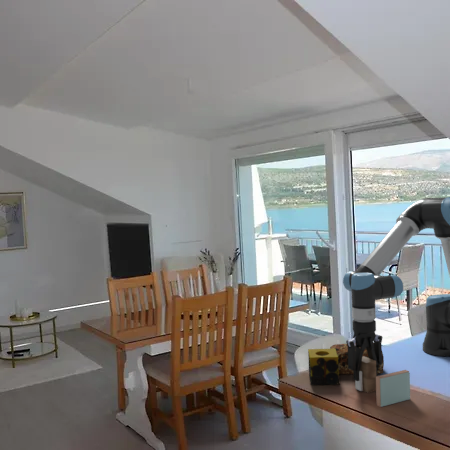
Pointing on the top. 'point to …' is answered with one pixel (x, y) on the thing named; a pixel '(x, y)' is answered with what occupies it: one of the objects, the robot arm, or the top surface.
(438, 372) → the top surface
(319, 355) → the yellow spotted cube
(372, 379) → the light brown rectangular block
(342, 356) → the bread
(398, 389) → the tile
